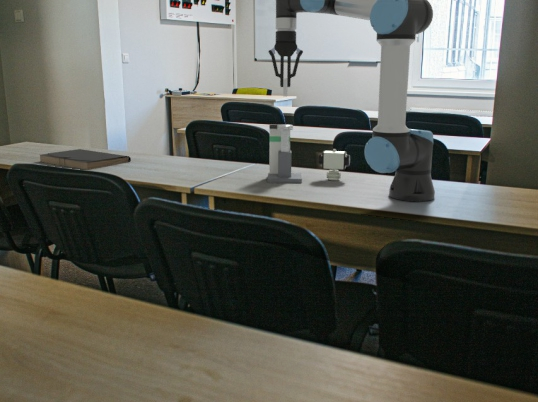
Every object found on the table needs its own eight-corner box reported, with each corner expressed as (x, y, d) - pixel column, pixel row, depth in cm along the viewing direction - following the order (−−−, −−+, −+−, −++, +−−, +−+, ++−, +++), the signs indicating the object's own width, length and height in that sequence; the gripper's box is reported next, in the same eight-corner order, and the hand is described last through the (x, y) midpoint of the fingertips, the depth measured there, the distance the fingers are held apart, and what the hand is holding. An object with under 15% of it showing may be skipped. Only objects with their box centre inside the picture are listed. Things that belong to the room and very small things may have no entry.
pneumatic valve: (348, 181, 220) (349, 150, 217) (317, 180, 223) (318, 149, 220) (349, 178, 226) (350, 148, 223) (319, 177, 228) (320, 147, 225)
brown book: (38, 154, 258) (83, 147, 277) (39, 163, 259) (83, 156, 278) (86, 161, 240) (130, 154, 259) (87, 171, 241) (131, 163, 260)
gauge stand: (300, 176, 229) (301, 126, 224) (301, 182, 218) (302, 129, 213) (268, 176, 229) (268, 126, 224) (267, 182, 218) (267, 129, 214)
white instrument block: (292, 152, 224) (292, 124, 222) (292, 155, 218) (293, 126, 215) (269, 152, 225) (269, 124, 222) (269, 155, 218) (269, 126, 216)
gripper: (303, 30, 214) (302, 95, 219) (268, 30, 214) (268, 95, 220) (304, 30, 206) (302, 97, 212) (267, 30, 207) (267, 96, 212)
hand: (285, 96), depth 216 cm, fingers closed
